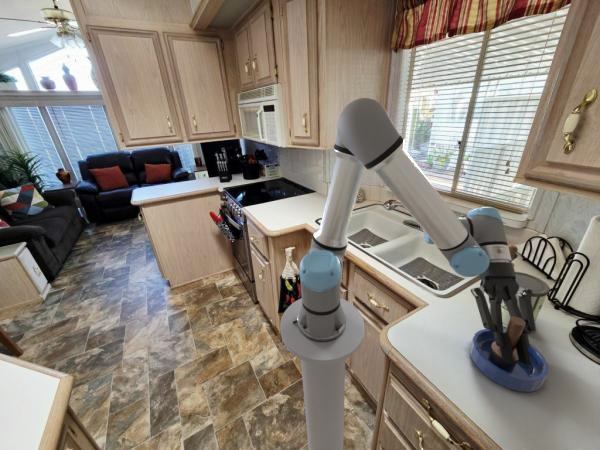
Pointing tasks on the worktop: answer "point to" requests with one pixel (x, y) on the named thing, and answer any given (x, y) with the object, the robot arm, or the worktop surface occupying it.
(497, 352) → the brush
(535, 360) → the bowl
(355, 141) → the robot arm
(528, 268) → the worktop surface
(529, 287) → the coffee can
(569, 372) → the worktop surface
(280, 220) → the worktop surface
